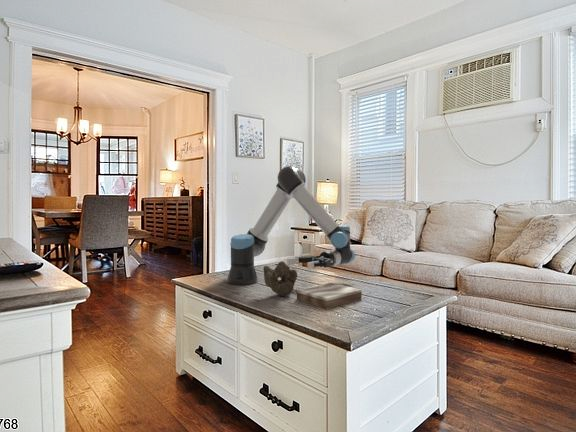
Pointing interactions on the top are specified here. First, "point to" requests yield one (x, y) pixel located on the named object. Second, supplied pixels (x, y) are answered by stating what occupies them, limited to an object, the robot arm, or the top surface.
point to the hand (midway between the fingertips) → (297, 263)
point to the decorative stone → (286, 275)
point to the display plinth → (329, 295)
